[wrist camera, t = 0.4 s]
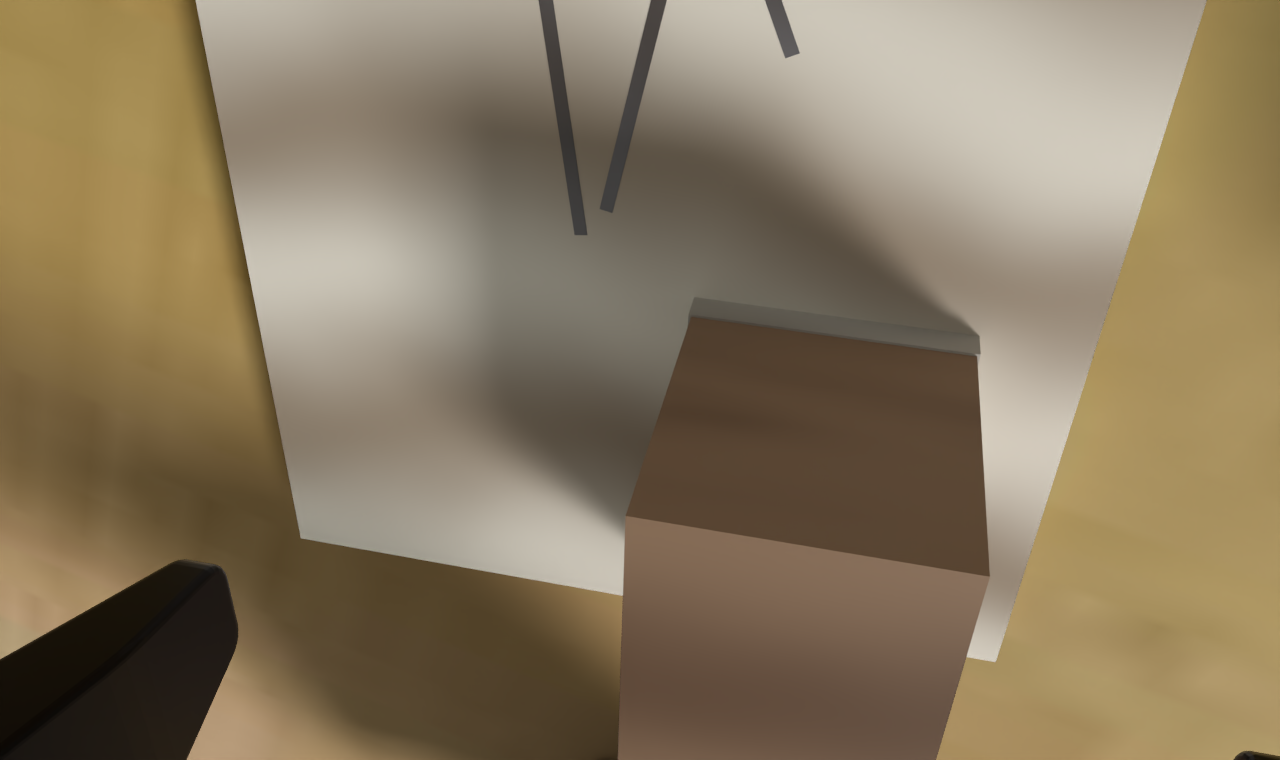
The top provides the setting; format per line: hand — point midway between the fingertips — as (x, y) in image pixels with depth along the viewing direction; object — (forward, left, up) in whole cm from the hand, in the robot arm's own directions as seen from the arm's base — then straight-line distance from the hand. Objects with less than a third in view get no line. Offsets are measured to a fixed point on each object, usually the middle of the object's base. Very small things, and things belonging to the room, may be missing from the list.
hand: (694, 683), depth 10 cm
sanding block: (-6, -1, -11) cm, 13 cm away
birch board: (-1, +3, -12) cm, 13 cm away
